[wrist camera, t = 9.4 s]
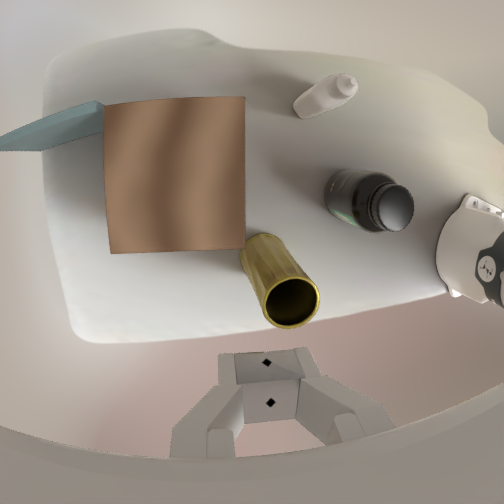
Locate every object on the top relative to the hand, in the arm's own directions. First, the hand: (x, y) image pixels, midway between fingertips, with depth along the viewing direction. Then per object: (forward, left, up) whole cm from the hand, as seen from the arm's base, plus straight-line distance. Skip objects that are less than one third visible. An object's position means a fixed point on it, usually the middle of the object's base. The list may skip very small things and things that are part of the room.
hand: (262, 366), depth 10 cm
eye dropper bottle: (-11, -15, -29) cm, 35 cm away
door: (+18, -12, -29) cm, 36 cm away
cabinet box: (+5, -6, -29) cm, 30 cm away
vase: (-5, +5, -29) cm, 30 cm away
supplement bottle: (-17, -3, -29) cm, 34 cm away
